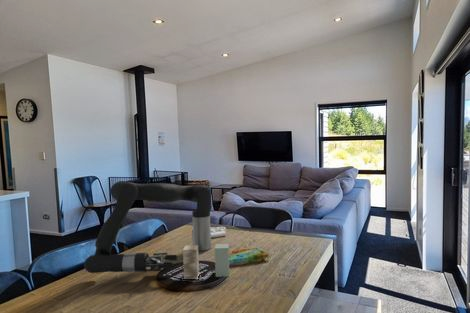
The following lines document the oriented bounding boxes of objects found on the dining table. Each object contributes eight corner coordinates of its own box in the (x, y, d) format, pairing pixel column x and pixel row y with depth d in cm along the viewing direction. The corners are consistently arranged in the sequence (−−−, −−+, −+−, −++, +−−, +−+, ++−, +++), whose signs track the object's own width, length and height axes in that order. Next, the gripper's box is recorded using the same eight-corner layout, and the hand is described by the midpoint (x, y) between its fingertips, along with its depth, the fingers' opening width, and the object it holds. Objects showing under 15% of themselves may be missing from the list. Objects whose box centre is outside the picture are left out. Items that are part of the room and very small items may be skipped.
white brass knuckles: (201, 240, 194) (194, 234, 208) (230, 236, 201) (222, 230, 215) (201, 235, 194) (194, 229, 208) (230, 230, 201) (222, 225, 215)
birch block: (184, 279, 138) (182, 250, 138) (186, 273, 144) (184, 245, 143) (197, 278, 138) (196, 249, 138) (199, 273, 144) (198, 245, 143)
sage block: (215, 277, 140) (214, 248, 139) (216, 272, 145) (215, 244, 144) (229, 276, 140) (228, 248, 139) (229, 271, 145) (228, 243, 144)
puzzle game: (219, 251, 160) (258, 245, 167) (219, 261, 161) (258, 254, 168) (227, 259, 149) (268, 252, 156) (227, 269, 150) (268, 262, 156)
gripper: (130, 259, 133) (171, 258, 133) (140, 247, 148) (177, 246, 148) (131, 278, 134) (172, 276, 134) (141, 264, 148) (178, 263, 148)
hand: (175, 261), depth 141 cm, fingers open, 8 cm apart
